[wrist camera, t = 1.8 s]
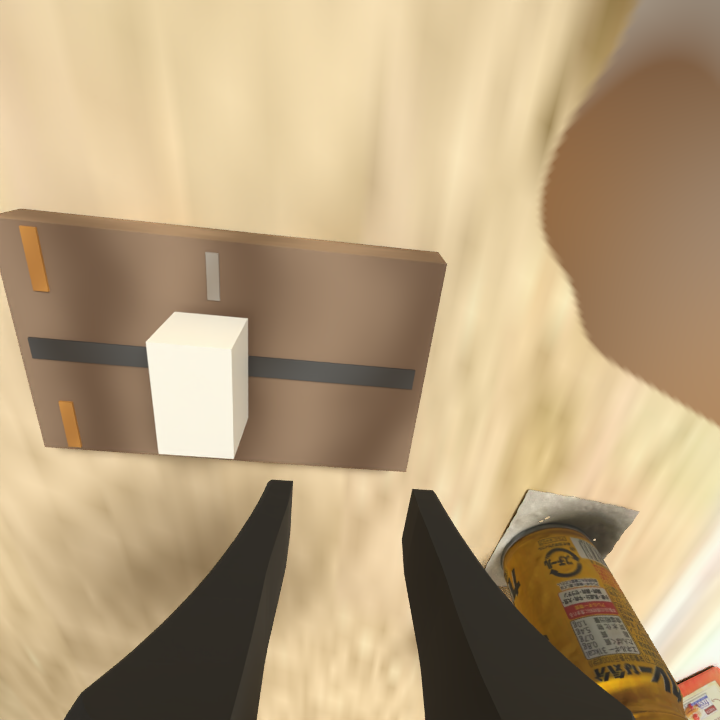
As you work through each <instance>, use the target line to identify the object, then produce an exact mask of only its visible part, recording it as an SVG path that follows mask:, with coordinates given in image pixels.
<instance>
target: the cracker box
mask: <svg viewBox="0 0 720 720" xmlns="http://www.w3.org/2000/svg"><path fill="white" fill-rule="evenodd" d="M678 687H679V688H680V690H681V693H682V695H683V707H684V711H685V714H686V717H687V718H688V720H720V669H719V668H718V667H712V668H710V669H708V670H706V671H704V672H702V673H700V674H698V675H696V676H694V677H692V678H690V679H688V680H686V681H684V682H682V683H680V684H678Z"/></svg>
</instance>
